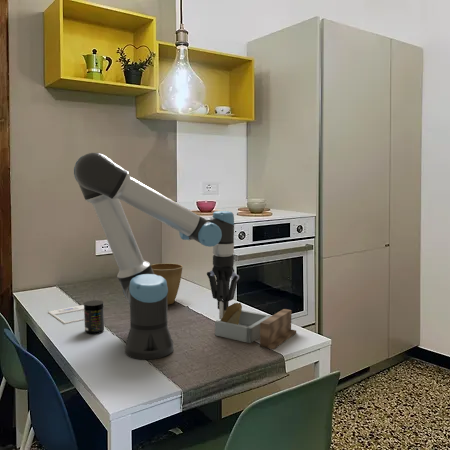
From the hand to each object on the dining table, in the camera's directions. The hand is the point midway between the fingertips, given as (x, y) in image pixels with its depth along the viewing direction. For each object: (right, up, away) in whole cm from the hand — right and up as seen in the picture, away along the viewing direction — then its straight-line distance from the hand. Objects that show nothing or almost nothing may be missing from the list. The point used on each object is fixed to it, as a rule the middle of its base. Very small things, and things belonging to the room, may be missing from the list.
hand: (222, 318), depth 171 cm
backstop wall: (+18, -5, -11) cm, 22 cm away
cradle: (+8, -4, -4) cm, 10 cm away
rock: (+1, -3, 0) cm, 4 cm away
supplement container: (-45, -4, -4) cm, 46 cm away
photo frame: (-59, -2, +15) cm, 61 cm away
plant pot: (-25, 0, +32) cm, 41 cm away
